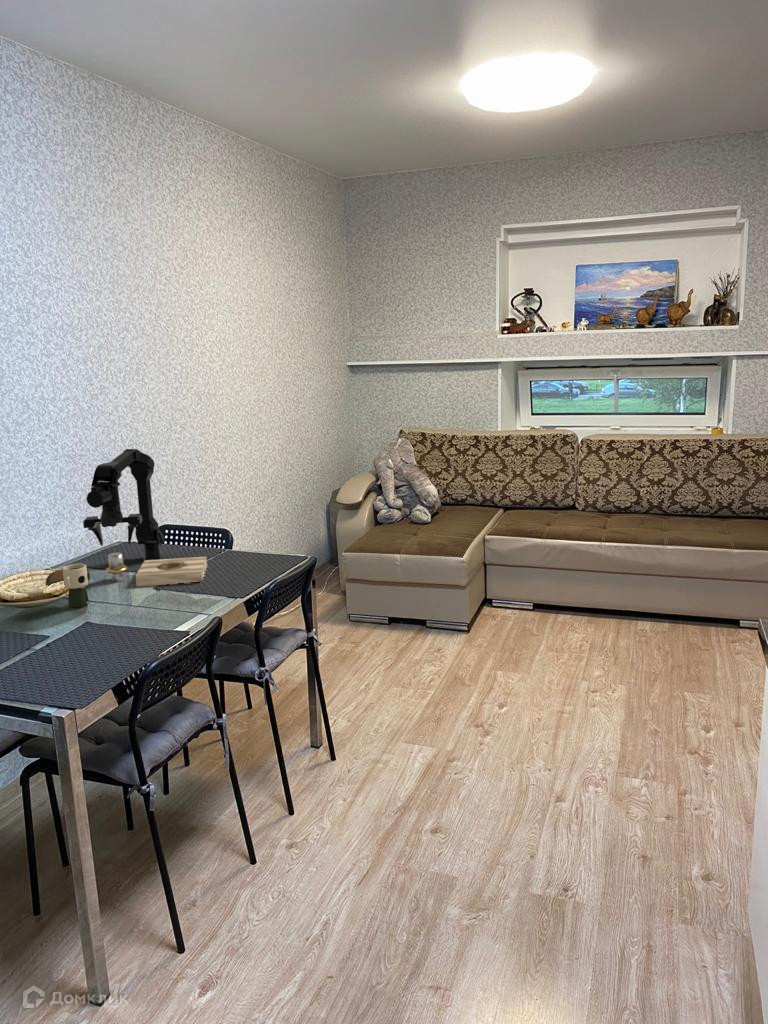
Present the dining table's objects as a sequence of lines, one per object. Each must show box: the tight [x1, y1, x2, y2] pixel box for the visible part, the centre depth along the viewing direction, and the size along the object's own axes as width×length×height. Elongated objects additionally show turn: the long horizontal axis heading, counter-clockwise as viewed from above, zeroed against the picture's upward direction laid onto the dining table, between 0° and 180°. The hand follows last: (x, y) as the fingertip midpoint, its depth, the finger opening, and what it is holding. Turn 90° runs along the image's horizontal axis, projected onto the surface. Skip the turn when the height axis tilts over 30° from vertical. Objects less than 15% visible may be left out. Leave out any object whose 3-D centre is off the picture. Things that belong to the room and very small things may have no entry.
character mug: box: [61, 563, 90, 608], centre depth 249 cm, size 11×7×13 cm, turn 173°
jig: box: [135, 556, 208, 587], centre depth 277 cm, size 18×22×4 cm
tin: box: [45, 569, 91, 588], centre depth 263 cm, size 15×3×8 cm, turn 143°
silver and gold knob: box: [105, 552, 128, 583], centre depth 274 cm, size 7×7×9 cm
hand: (115, 544), depth 272 cm, fingers open, 9 cm apart
